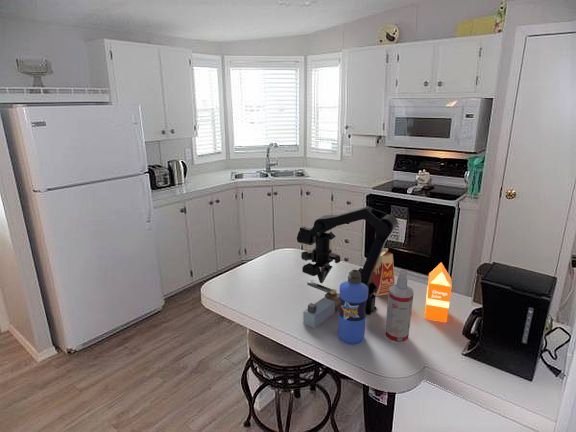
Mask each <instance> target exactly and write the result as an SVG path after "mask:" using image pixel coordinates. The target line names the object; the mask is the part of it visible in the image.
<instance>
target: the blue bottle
mask: <svg viewBox="0 0 576 432" xmlns="http://www.w3.org/2000/svg"><path fill="white" fill-rule="evenodd" d="M358 270H359V269H352V270H350V271H349V272H348V276H347V281H343V282H341V283H340V285H339V293H338V294H339V296H340V305H341V306H340V310H338V322H337V324H338V325H337V339H338V341H340V342H341V343H342V344H346V345H351V346H355V345H356V346H357V345H360V344H362V343H363V342H364V340H365V334H366V321H367V320H366V319H367V318H366V317H367V314H366V313H365V306H366V302H367V298H368V286H367V285H365V284H364V283H362V282H361V276H360V275H361V273H360V272H359V271H358Z"/></svg>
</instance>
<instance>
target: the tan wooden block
mask: <svg viewBox="0 0 576 432" xmlns="http://www.w3.org/2000/svg"><path fill="white" fill-rule="evenodd" d="M324 297H325V298H327V299H330V300H332V301H335V313H337V312H339V311H340V306H341V305H340V296H339V293H337V292H336V296H331V295H330V294H329V293H327V292H326V293H325V294H324ZM335 313H334V314H335Z"/></svg>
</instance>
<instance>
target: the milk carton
mask: <svg viewBox="0 0 576 432" xmlns="http://www.w3.org/2000/svg"><path fill="white" fill-rule="evenodd" d="M394 267H395V265H394V254H393V252H390V251H389V248H387V247H384V248H383V250H382V253H381V255H380V257H379V259H378V262H377V264H376V266H375V269H374V276H373V282H374V284H375V285H376V286H377V287H378V289H377V290H376V292H375V293H374V295H375V296H376V297H378V296H384V295H385V296H386V295H389V287H390V286H392V285H396V281H395V278H396V277H395V268H394Z"/></svg>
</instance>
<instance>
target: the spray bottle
mask: <svg viewBox="0 0 576 432" xmlns="http://www.w3.org/2000/svg"><path fill="white" fill-rule="evenodd" d="M407 275H408V272H407V270H405V269H401V270H399V273H398V278H397V281H396V284H395V285H392V286H390V287H389V294H388V299H387V300H388V301H387V309H386V310H387V311H386V320H385V331H384V337H385V340H387V341H388V342H389V343H392V344H396V345H403V344H404V345H405V344H406V343H407V342H408V341H409V335H410V328H411V319H412V312H413V311H412V309H413V301H414V300H413V299H414V293H415V292H414V289H413V288H412V287H410V286H409V285H408V278H407V277H408V276H407Z"/></svg>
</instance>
